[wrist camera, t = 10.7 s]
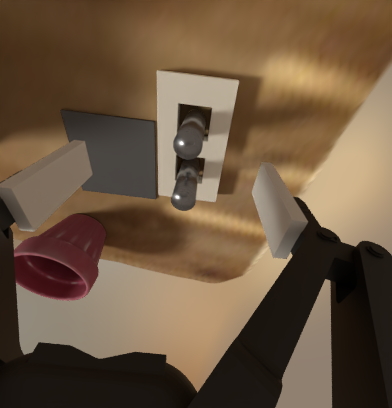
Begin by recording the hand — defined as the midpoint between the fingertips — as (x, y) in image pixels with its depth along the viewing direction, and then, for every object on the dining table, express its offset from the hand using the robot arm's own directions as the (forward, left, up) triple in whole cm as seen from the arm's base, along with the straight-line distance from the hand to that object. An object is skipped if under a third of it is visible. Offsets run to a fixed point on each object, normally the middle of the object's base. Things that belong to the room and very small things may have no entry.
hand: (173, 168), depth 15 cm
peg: (0, 0, -17) cm, 17 cm away
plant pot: (-22, -26, -17) cm, 38 cm away
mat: (-13, -8, -17) cm, 23 cm away
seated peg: (0, -7, -17) cm, 18 cm away
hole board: (0, -4, -17) cm, 17 cm away
